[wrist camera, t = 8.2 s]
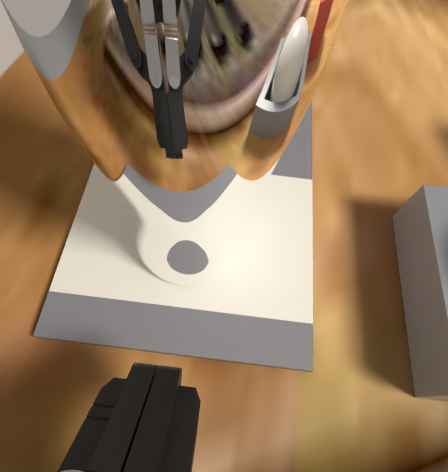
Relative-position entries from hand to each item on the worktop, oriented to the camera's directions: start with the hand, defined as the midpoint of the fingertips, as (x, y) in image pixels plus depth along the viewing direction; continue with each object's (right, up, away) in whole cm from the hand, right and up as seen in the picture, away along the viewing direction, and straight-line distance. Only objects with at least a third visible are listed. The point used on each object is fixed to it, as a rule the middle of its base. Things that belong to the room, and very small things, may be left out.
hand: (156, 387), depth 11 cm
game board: (+1, +12, +10) cm, 16 cm away
